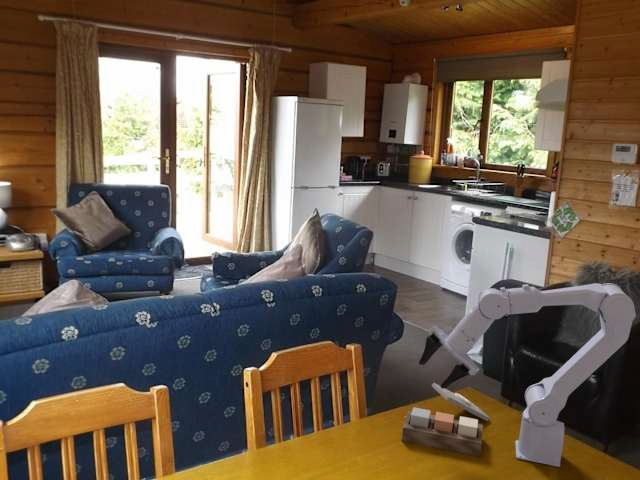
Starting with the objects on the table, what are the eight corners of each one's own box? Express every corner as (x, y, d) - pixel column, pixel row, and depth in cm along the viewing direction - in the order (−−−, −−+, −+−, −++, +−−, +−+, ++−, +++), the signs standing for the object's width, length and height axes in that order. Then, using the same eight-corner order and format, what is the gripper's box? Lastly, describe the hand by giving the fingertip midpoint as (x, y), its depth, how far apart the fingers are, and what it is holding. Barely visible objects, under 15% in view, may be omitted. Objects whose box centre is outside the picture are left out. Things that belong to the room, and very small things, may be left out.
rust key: (452, 426, 145) (454, 415, 145) (451, 434, 141) (452, 423, 141) (435, 423, 146) (436, 411, 146) (433, 431, 142) (434, 419, 142)
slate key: (429, 421, 147) (430, 410, 146) (427, 430, 143) (428, 418, 142) (412, 418, 148) (413, 407, 147) (409, 426, 144) (410, 414, 143)
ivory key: (476, 431, 144) (477, 419, 143) (475, 439, 140) (477, 427, 139) (458, 427, 145) (459, 416, 144) (457, 436, 141) (458, 424, 140)
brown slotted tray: (480, 438, 146) (482, 424, 146) (479, 457, 138) (481, 443, 137) (407, 423, 151) (408, 410, 150) (401, 440, 142) (403, 427, 142)
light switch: (492, 415, 155) (451, 393, 150) (480, 434, 155) (438, 414, 150) (474, 400, 163) (435, 379, 157) (463, 418, 163) (423, 398, 158)
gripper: (438, 310, 140) (403, 353, 144) (483, 354, 132) (445, 399, 136) (451, 312, 146) (418, 353, 149) (495, 355, 137) (459, 397, 141)
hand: (432, 375), depth 143 cm, fingers open, 7 cm apart
